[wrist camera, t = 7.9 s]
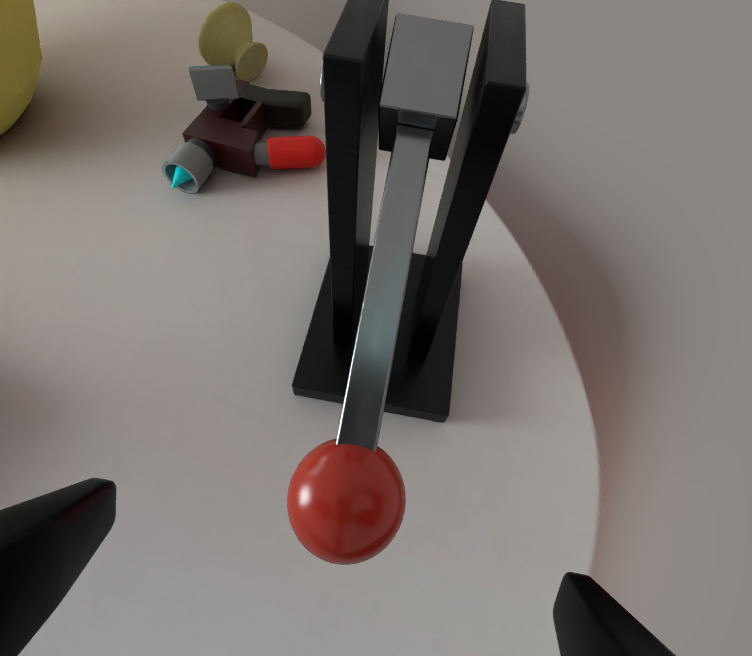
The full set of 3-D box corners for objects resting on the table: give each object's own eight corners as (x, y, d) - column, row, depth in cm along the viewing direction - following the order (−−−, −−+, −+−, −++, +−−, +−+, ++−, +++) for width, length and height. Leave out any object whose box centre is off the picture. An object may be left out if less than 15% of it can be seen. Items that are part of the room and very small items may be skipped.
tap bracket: (444, 423, 22) (601, 176, 9) (293, 395, 23) (219, 112, 9) (458, 273, 27) (571, -29, 14) (335, 251, 28) (328, -67, 14)
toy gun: (154, 197, 29) (123, 132, 25) (235, 99, 35) (220, 34, 31) (289, 234, 28) (280, 174, 24) (348, 128, 34) (349, 64, 30)
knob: (198, 73, 37) (179, 5, 32) (245, 51, 39) (234, -15, 35) (235, 97, 35) (221, 30, 31) (282, 73, 37) (274, 7, 33)
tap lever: (392, 546, 13) (396, 601, 10) (290, 525, 13) (261, 574, 10) (471, 92, 15) (496, 14, 12) (379, 77, 15) (378, -4, 12)
